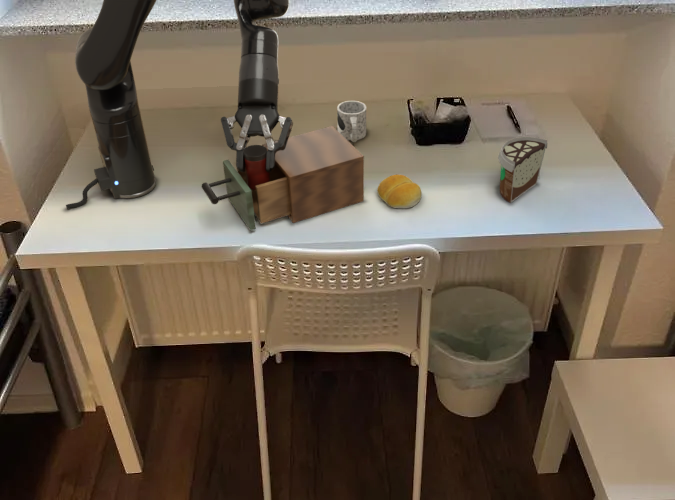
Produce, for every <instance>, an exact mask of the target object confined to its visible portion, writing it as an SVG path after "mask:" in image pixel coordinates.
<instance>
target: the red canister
mask: <svg viewBox="0 0 675 500" xmlns="http://www.w3.org/2000/svg"><path fill="white" fill-rule="evenodd" d="M243 153H244V161H245V168H246V176H247V183H248V187H249V188H251V189H254V190H256V187H255V186H257V185H260V184H264V183H267V182H270V174H269V173H267V171H266V153H267V149H266V147H264V146H262V144H252V145H247V146H246V148H245V149H244V151H243Z"/></svg>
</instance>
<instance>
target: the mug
mask: <svg viewBox="0 0 675 500" xmlns="http://www.w3.org/2000/svg"><path fill="white" fill-rule="evenodd" d="M336 119H337V121H336V123H337V131H338V132H339V133H340V134H341V135H342V136H343V137H344V138H345V139H346V140H347V141H351V142H352V143H356V142H357V141H359V140H362V139H364V138H366V135H367V104H365V103H364V102H362V101H358V100H345V101H342V102H340V103H339V104H337V106H336Z"/></svg>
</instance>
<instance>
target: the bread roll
mask: <svg viewBox="0 0 675 500" xmlns="http://www.w3.org/2000/svg"><path fill="white" fill-rule="evenodd" d="M421 189H422V188H421V187H420V185H419V184H418V183H415V182H414V181H412V179H411V178H409V177H407V176H406V175H403V174H399V173H398V174H392V175H389V176H387V177H386V178H384V179H382V180H381V181H380V183H379V184H378V186H377V190H376V191H377V194H378V196H379V198H380V199H381V200H382V201H383V202H385V203H386V205H388V206H389V207H391V208H393V209H394V208H395V209H409V208H413V207H414V206H416V205H417V204H419V202H420V201H421V198H422V190H421Z"/></svg>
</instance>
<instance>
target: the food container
mask: <svg viewBox="0 0 675 500" xmlns="http://www.w3.org/2000/svg"><path fill="white" fill-rule="evenodd" d="M546 149H548V139H546V138H541V137H537V136H517V137H513V138H511V139H508V140H507V141H506V142H504V143H503V145H502V146H501V148H500V150H499V152H498V154H497V160H498V163H499V164H500V175H499V178H500V179H499V194H500V197H502V199H504V200H505V201H506V202H507V203H509V204H512V203H513V202H514V201H516V200H517V199H519V198H520V197H521V196H523V195H524V194H526V193H527V192H528V191H530V190H531V189H532V188H534V187H536V185H538V181H539V177H540V173H541V169H542V164H543V161H544V156H545V152H546Z"/></svg>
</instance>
